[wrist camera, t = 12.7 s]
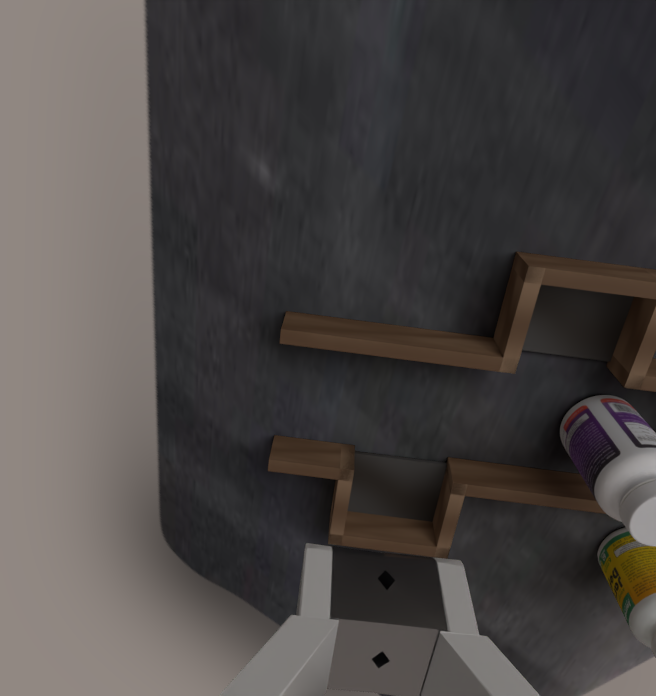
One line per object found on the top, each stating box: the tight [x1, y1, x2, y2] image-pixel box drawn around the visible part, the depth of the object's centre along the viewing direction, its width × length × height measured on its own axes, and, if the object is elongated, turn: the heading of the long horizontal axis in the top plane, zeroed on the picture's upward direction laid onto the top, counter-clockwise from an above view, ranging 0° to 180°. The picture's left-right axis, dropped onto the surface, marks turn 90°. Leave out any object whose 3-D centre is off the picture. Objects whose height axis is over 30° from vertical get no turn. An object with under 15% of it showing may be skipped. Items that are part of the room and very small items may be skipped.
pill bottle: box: [560, 395, 656, 546], centre depth 37 cm, size 5×5×10 cm
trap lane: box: [268, 252, 656, 559], centre depth 40 cm, size 23×30×3 cm
